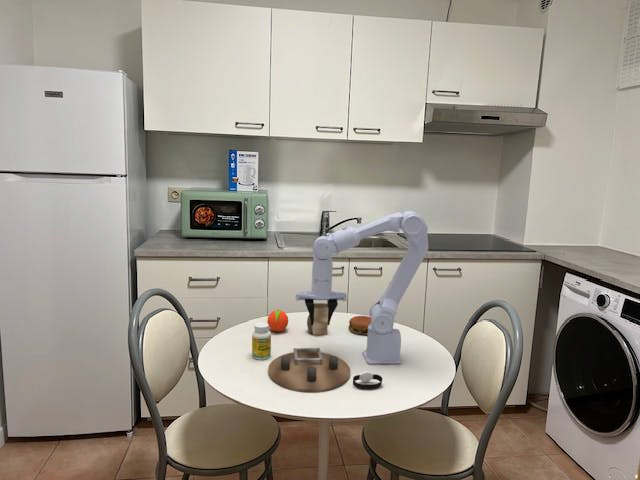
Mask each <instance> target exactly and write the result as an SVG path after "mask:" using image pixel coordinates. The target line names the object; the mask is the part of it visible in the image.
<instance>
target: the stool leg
mask: <svg viewBox="0 0 640 480" xmlns="http://www.w3.org/2000/svg"><path fill="white" fill-rule="evenodd" d="M313 318H314V323H313V325H312V331H313V335H324V336H325V335H326V336H327V335H328V326H329V325H328V305H327V302H323V303H322V302H320V303H318V302H317V303H316V302H314V313H313Z"/></svg>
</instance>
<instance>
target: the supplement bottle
mask: <svg viewBox="0 0 640 480" xmlns="http://www.w3.org/2000/svg"><path fill="white" fill-rule="evenodd" d="M253 328H254V331H253V332H252V334H251V357H252V358H254V359H255V360H259V361H262V360H263V361H265V360H267V359H270V357H271V356H272V355H271V352H272V349H271V348H272V332H271V330H269V329H270V327H269V324H268V323H267V322H264V321H263V322H257V323H254V327H253Z"/></svg>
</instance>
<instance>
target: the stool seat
mask: <svg viewBox="0 0 640 480" xmlns="http://www.w3.org/2000/svg"><path fill="white" fill-rule="evenodd" d="M292 350H293V352H287V353H285V354H282V355H280V356H278V357H276V358H274V359H273V360H272V361H270V363H269V364H268V368H267V370H268V371H267V372H268V377H269V379H270V380H271V381H272V382H273V383H274V384H276V385H277V386H280V387H282V388H284V389H287V390H290V391H293V392H294V391H295V392H300V393H322V392H323V393H324V392H329V391H332V390H335V389H338V388H340V387H342V386H343V385H345V384H346V383H348V381H349V379H350V378H351V377H350V376H351V369H350V366H349V365H348V363H347V362H346V361H345V360H343V359H342V358H340V357H338V356H336V355H332V354H330V353H327V352H321V348H320V347H302V348H301V347H294V348H293V349H292Z"/></svg>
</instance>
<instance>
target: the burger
mask: <svg viewBox="0 0 640 480" xmlns="http://www.w3.org/2000/svg"><path fill="white" fill-rule="evenodd" d="M348 323H349V324H348V331H349V332H350V333H352V334H355V335H356V334H357V335H362V336H366V335H367V336H368V326H369V325H370V323H371V317H370V316H367V315H356V316H355V315H354V316H353V317H352V318H350V319H349V321H348Z"/></svg>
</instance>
